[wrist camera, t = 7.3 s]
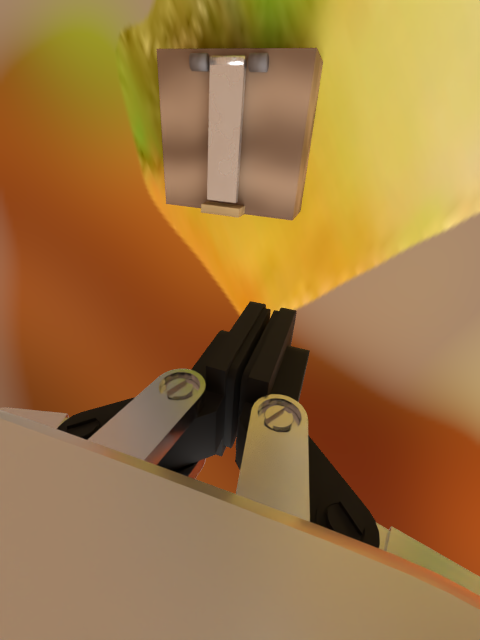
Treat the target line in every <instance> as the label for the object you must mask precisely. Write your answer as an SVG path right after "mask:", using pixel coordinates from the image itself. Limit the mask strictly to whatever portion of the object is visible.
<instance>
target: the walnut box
mask: <svg viewBox="0 0 480 640" xmlns="http://www.w3.org/2000/svg"><path fill="white" fill-rule="evenodd" d="M210 56H246V58H247V66H246V78H245V94H244V110H243V125H242V141H241V156H240V172H239V188H238V202H237V203H231V202H223V201H215V200H207V178H208V127H209V77H210V64H209V59H210ZM157 61H158V77H159V94H160V110H161V126H162V142H163V158H164V174H165V191H166V204H172V205H180V206H188V207H195V208H201V212H202V213H209V214H217V215H224V216H232V217H240V216H242V215H244V214H248V215H256V216H264V217H271V218H279V219H286V220H293V219H294V218H295V217H296V216H297V214H298V213H299V212H300V210H301V204H302V197H303V190H304V184H305V177H306V171H307V164H308V157H309V151H310V144H311V138H312V131H313V124H314V118H315V111H316V105H317V98H318V91H319V85H320V78H321V71H322V65H323V61H322V59H321V56H320V54H319V52H318V50H317V48H233V49H157Z"/></svg>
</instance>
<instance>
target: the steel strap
mask: <svg viewBox="0 0 480 640" xmlns="http://www.w3.org/2000/svg"><path fill="white" fill-rule="evenodd" d="M209 64H210V77H209V127H208V178H207V200H215V201H223V202H231V203H237V202H238V188H239V172H240V156H241V141H242V125H243V110H244V94H245V78H246V66H247V58H246V56H210V59H209Z"/></svg>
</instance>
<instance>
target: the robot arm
mask: <svg viewBox="0 0 480 640" xmlns="http://www.w3.org/2000/svg"><path fill="white" fill-rule="evenodd" d="M295 318H296V310H291V309H286V308H281V309H280V311H276V310H274V312H273V314H272V316H271V318H270V309H266V305H265V304H261V303H256V302H251V301H250V302H249V304H248V305H247V307H246V308H245V310H244V311H243V313H242V314H241V316H240V317H239V319H238V320H237V321H236V323H235V324H234V326H233V327H232V329H231V330H230V332H227V331H223V330H222V331H220V332H219V333H218V334H217V336H216V337H215V338H214V340H213V341H212V342H211V344H210V345H209V346H208V348H207V349H206V350H205V352H204V353H203V355H202V356H201V357H200V359H199V360H198V361H197V363H196V364H195V365H194V367H193V368H192V369H191V370H189V369H176V370H171V371H168V372H166V373H164V374H162V375H161V376H159V377H158V378H157V379H156V380H155V381H154V382H153V383H151V384H150V385H149V386H148V387H147V388H146V389H145V390H143V391H142V392H141V393H140V394H139V395H138V396H137V397H135V398H131V399H127V400H124V401H121V402H117V403H113V404H109V405H106V406H103V407H99V408H95V409H92V410H88V411H84V412H81V413H79V414H76V415H73V416H72V417H70V418H69V417H68V414H65V413H55V412H46V411H36V410H26V409H16V408H0V640H480V577H479V576H477V575H475V574H473V573H472V572H470V571H468V570H467V569H465V568H463V567H461V566H460V565H458V564H456V563H455V562H453V561H451V560H449V559H448V558H446V557H444V556H442V555H441V554H439V553H437V552H435V551H434V550H432V549H430V548H428V547H427V546H425V545H423V544H421V543H420V542H418V541H416V540H414V539H413V538H411V537H409V536H407V535H405V534H404V533H402V532H401V531H399V530H397V529H395V528H393V527H391V528H390V530H387V529H386V528H384V527H382V526H381V525H379V524H377V523H376V521H375V520H374V518H373V516H372V515H371V513H370V512H369V510H368V509H367V508H366V506H365V505H364V504H363V503H362V501H361V500H360V499H359V498H358V496H357V495H356V494H355V493H354V491H353V490H352V489H351V488H350V486H349V485H348V484H347V483H346V481H345V480H344V479H343V478H342V477H341V475H340V474H339V473H338V471H337V470H336V469H335V468H334V467H333V465H332V464H331V463H330V462H329V461H328V459H327V458H326V457H325V455H324V454H323V453H322V452H321V450H320V449H319V448H318V447H317V445H316V444H315V443H314V442H313V441H312V439H311V438H310V437H309V435H308V418H307V413H306V411H305V410H304V408H303V406H302V405H300V403H298V401H299V397H300V393H301V389H302V384H303V380H304V375H305V370H306V366H307V361H308V356H309V350H305V349H300V348H296V347H292V346H291V341H292V335H293V329H294V324H295ZM236 437H237V439H236ZM235 439H236V460H235V462H236V463H237V465H238V467H239V469H240V475H239V480H238V486H237V491H236V494H234V493H231V492H228V491H226V490H223V489H220V488H217V487H215V486H212V485H209V484H206V483H204V482H201V481H198V480H195V478H196V477H197V475H198V474H199V472H200V471H201V469H202V468H203V466H204V463H205V458H208V457H210V456H213V455H215V454H217V455H219V456H222V455H223V452H224V450H225V448H226V446H227V447H230V448H231V447H232V446H233V444H234V441H235Z"/></svg>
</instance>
